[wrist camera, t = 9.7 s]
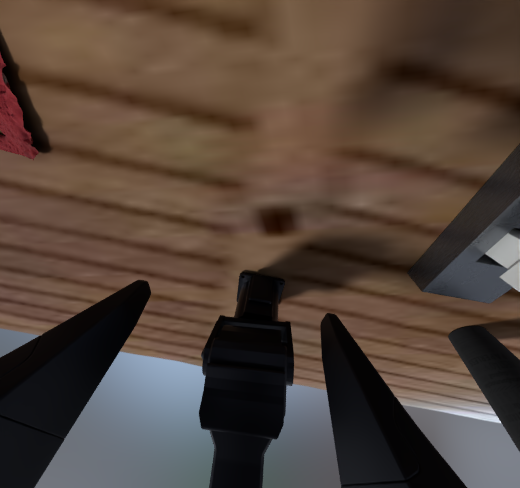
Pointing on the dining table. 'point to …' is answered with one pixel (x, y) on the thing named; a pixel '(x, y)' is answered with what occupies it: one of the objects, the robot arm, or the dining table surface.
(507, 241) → the clip
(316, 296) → the dining table surface
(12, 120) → the plate with food
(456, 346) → the drinking cup
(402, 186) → the dining table surface
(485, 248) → the rail
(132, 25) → the dining table surface
